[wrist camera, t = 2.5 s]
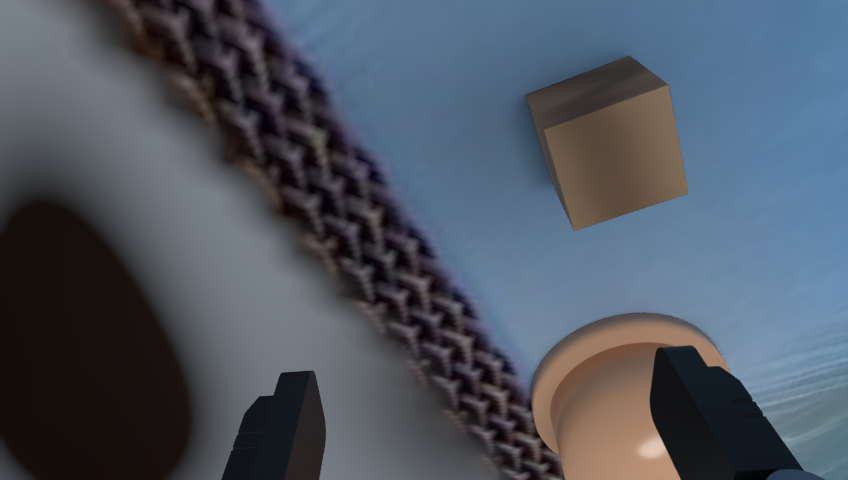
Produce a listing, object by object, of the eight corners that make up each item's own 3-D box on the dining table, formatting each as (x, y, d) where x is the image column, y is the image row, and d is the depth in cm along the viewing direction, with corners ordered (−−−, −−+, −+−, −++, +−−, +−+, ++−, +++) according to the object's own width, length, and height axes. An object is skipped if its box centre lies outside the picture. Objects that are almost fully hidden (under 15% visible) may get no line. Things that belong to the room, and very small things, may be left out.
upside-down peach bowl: (707, 287, 34) (769, 372, 28) (732, 425, 39) (788, 521, 33) (506, 346, 36) (523, 438, 30) (557, 469, 42) (580, 567, 36)
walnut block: (628, 55, 27) (668, 84, 23) (649, 150, 30) (688, 193, 25) (524, 94, 28) (543, 130, 24) (552, 183, 31) (574, 230, 26)
